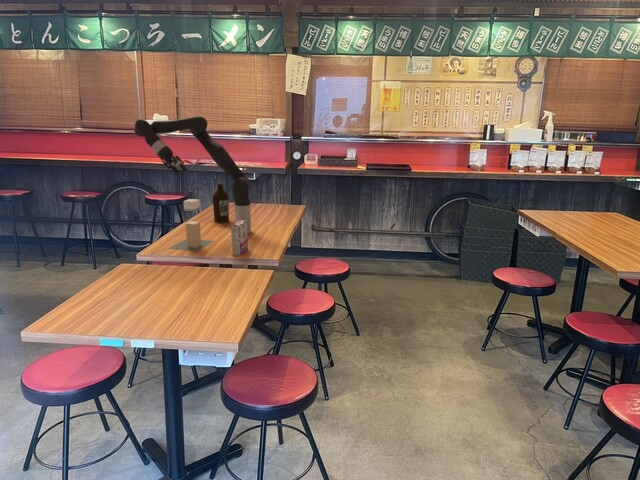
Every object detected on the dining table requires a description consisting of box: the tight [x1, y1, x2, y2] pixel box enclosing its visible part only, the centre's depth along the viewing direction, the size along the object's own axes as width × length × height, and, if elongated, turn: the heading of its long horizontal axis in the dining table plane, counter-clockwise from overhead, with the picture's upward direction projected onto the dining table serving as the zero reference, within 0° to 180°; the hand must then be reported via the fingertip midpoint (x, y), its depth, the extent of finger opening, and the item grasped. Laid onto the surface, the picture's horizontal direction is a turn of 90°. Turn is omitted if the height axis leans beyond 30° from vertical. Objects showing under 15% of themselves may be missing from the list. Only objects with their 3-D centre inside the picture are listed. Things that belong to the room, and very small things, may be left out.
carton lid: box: [183, 198, 201, 212], centre depth 257 cm, size 6×6×5 cm
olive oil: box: [211, 182, 230, 223], centre depth 319 cm, size 11×11×25 cm
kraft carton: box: [185, 220, 202, 248], centre depth 262 cm, size 5×5×13 cm
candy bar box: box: [230, 220, 249, 256], centre depth 254 cm, size 11×5×16 cm, turn 168°
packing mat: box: [167, 238, 215, 252], centre depth 266 cm, size 20×17×1 cm
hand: (182, 172), depth 268 cm, fingers open, 8 cm apart
